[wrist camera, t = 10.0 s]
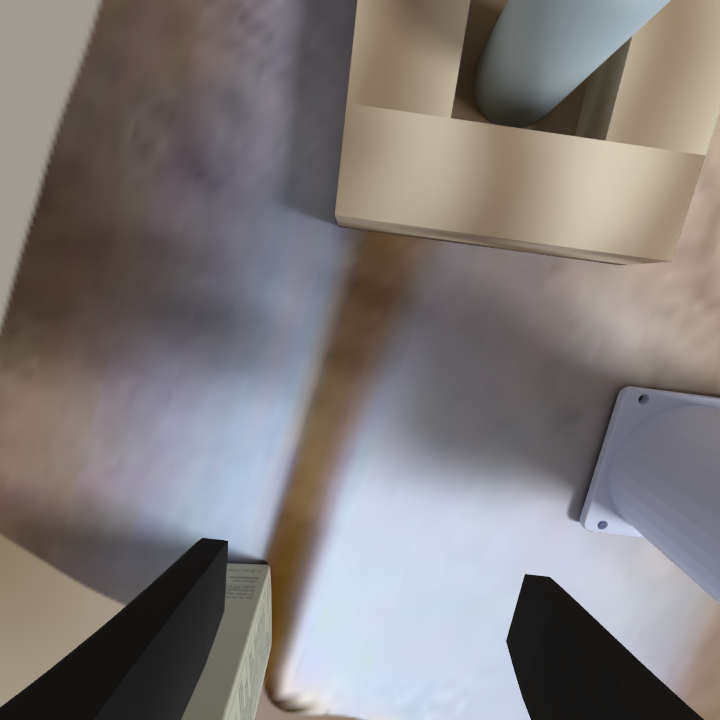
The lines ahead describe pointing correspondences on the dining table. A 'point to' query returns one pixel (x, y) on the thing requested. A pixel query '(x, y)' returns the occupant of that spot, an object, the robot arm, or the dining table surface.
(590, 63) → the peg
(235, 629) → the skincare box
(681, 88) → the socket block
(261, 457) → the dining table surface
